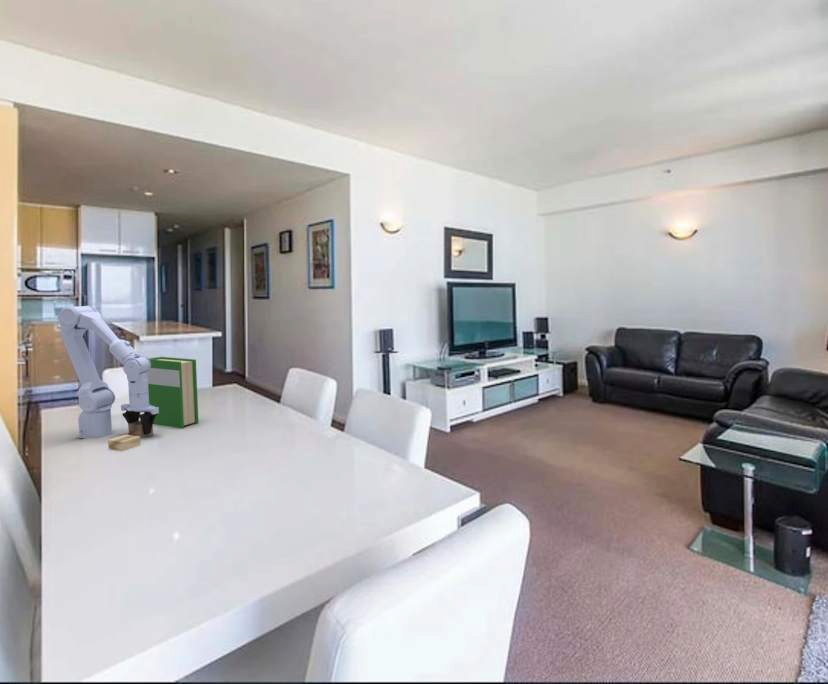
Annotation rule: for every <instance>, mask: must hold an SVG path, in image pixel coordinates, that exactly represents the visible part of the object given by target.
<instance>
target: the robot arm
mask: <svg viewBox="0 0 828 684" xmlns="http://www.w3.org/2000/svg"><path fill="white" fill-rule="evenodd" d="M56 318H57V320H58V322H59V325H60V337H61V340H62V342H63V344H64V346H65V349H66V352H67V355H68V357H69V359H70V361H71V363H72V366H73V369H74V371H75V373H76V376H77V378H78V381H79V383H80V387H79V389H78V391H77V392H76V394H77V395H78V397H77V398H78V407H79V408H80V409H81V410H82V411H81V412H80V413H79V416H78V433H79V435H77V436H76V438H79V439H88V438H93V439H94V438H101V437H106V436H110V435H112V433H113V426H112V425H113V424H112V410H111V409H112V408H113V406H112V405H113V404H114V403H115V401H116V394H115V392H114V390H112V389H111V388H110V387H109V384H108V383H107V382H106V381H104V380H102V379H101V378H100V376H99V373H98V371H97V368H96V366H95V363H94V360H93V358H92V355H91V354H90V351H89V348H88V346H87V343H86V341H85V339H84V334H85V333H86V331H87V330H88V329H89V330H92V331H93V333H95V334H96V335H97V336H98V337H99V338H100V339H102V340H103V341H104V342H105V343H106V344H107V345H108V346H109V352H110V353H111V354H112V355H113V357H115V359H116V360H117V361H119V362H120V364H121V365H122V366H123V367H122V370H123V372H124V374H125V375H126V380H127V383H128V385H127V387H128V400H129V402H128V403H124V404H121V405H120V410H121V412H123V413H121V414H122V417H124V419H125V420H126V422H127V424H130V423H133V422H137V421H140V420H141V422H142V427H143V433H144V435H147V434H150V433H151V429H152V425H153V426H154V424H153V422H154V420H155V418H156V416H157V413H159V407H154V406H152V405H149V390H148V371H149V370H150V368H151V362H150V360H149V358H148V356H146V355H141V353H139V352H137V350H135V348H133V347H132V346H131V342H130V341H127V340H125V339H120V338H119V337H118V336H117V335H116V334H115V333H114V332H113V331H112V329H111V328H110V326H108V324H106V322H105V321H104V320H103V317H102V314H101V313H100V312H99V311H97V309H96V308H95V307H93V306H92V305H83V306H70V305H68V306H64V307H62V308H61V310H60V311H59V313H58V315H57V317H56ZM141 413H142V414H141Z"/></svg>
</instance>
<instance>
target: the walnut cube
mask: <svg viewBox="0 0 828 684" xmlns="http://www.w3.org/2000/svg"><path fill="white" fill-rule="evenodd" d="M127 424H128V423H127ZM127 426H128V427H127V428H128V435H133V436H140V439H142V438H144V437H145V438H146V437H148V436H152V435H153V434H154V424H153V425H152V429H151V433H150V434H147V435H144V433H143V427H142V422H141V420H140V419H139V421H137V422H133V423H130V424H128V425H127Z"/></svg>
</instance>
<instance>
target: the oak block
mask: <svg viewBox="0 0 828 684" xmlns="http://www.w3.org/2000/svg"><path fill="white" fill-rule="evenodd" d="M107 441H108V442H107V443H108V448H109V449H112V450H111V451H113V450H119V451H118V452H120V451H125V450H127V451H129V450H128V449H130V450H132V449H131V448H133V449H135V448H134V447H136V448H138V447H137V446H139V447H141V446H140V445H142V444H141V438H140V436H133V435H129V434H124V435H120V436H117V437H113V438H110V439H107ZM125 452H126V451H125Z"/></svg>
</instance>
